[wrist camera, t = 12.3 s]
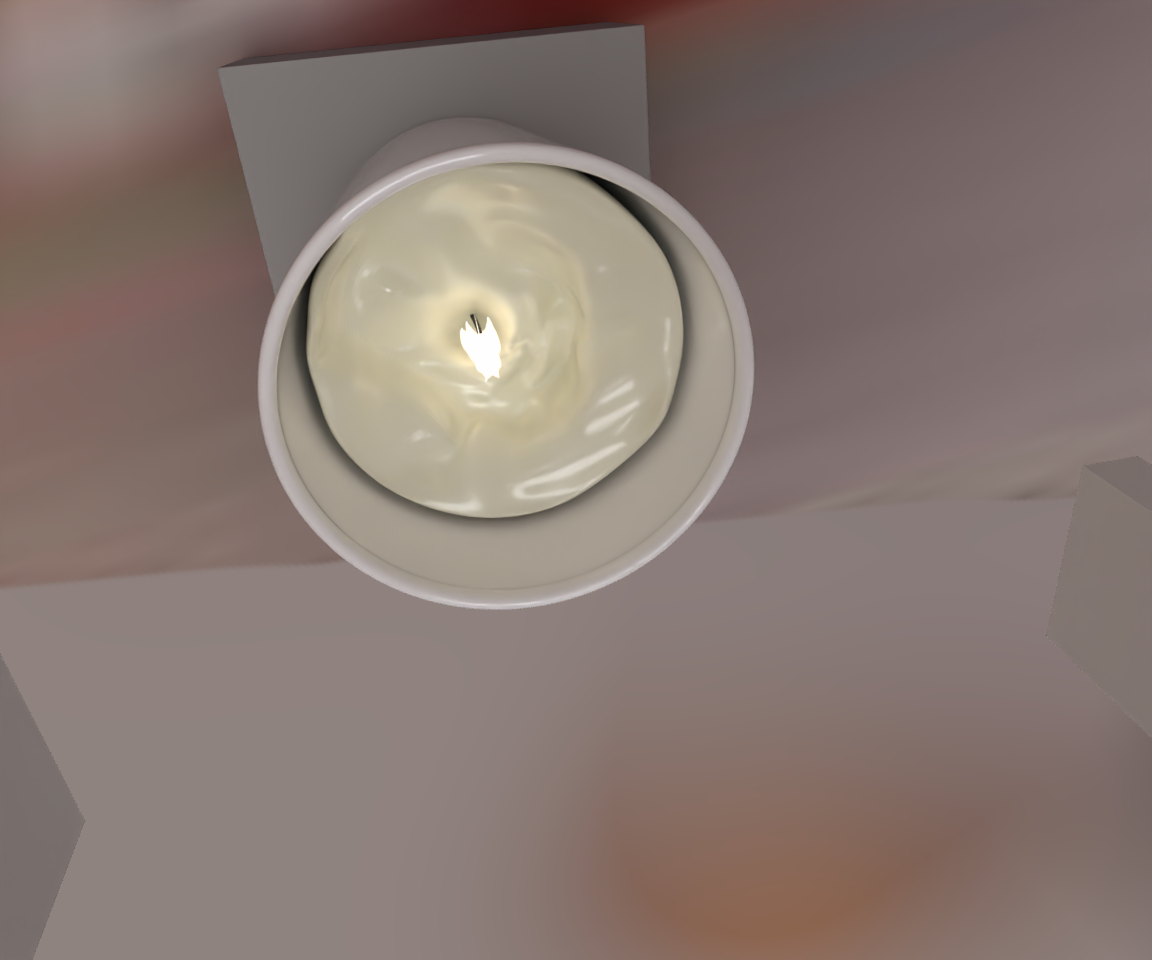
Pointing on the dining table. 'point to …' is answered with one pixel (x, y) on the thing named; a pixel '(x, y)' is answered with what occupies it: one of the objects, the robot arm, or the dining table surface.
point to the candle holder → (503, 369)
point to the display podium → (422, 110)
